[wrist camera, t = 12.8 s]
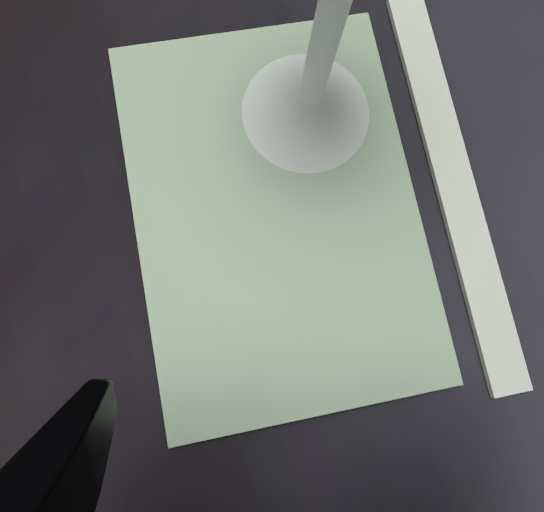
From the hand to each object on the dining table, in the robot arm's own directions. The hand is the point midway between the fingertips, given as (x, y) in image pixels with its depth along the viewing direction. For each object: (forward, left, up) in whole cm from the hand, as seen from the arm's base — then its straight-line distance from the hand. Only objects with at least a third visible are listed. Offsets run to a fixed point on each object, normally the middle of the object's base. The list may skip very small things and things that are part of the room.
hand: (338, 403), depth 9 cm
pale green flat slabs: (+8, -3, -14) cm, 16 cm away
